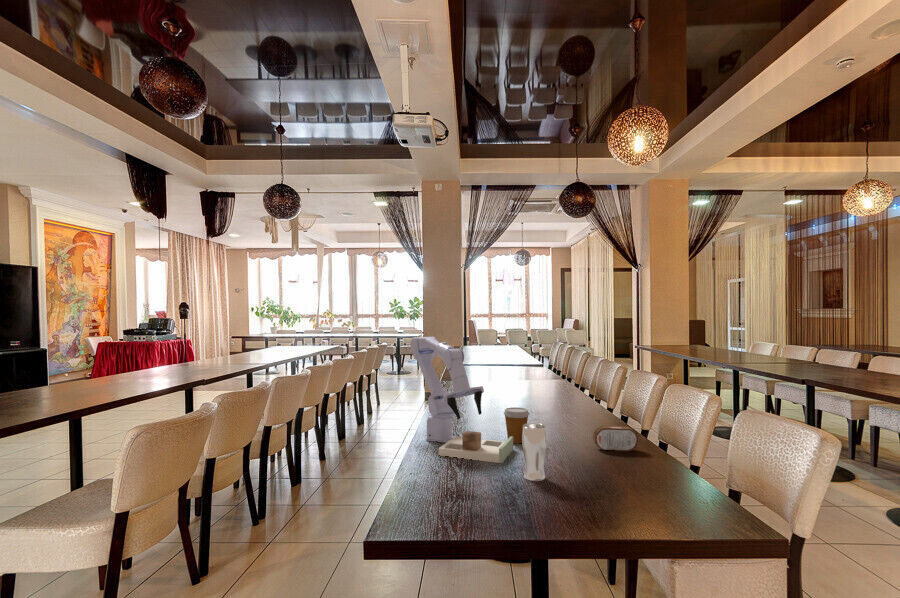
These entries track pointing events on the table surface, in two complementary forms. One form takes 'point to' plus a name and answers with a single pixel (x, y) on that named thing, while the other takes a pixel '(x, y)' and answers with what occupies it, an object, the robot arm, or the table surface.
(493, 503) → the table surface
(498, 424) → the table surface
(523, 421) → the disposable coffee cup
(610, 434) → the tin
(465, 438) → the walnut block
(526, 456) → the beer glass
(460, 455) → the trap board
